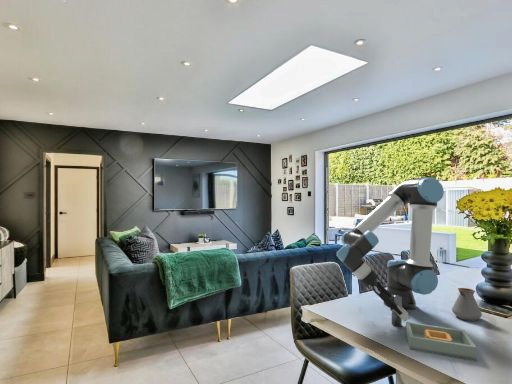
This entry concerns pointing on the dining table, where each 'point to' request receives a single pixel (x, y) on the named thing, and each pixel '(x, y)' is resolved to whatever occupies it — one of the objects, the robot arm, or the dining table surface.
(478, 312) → the coffee pot
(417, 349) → the walled box
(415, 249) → the robot arm
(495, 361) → the dining table surface
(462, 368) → the dining table surface
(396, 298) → the peg
